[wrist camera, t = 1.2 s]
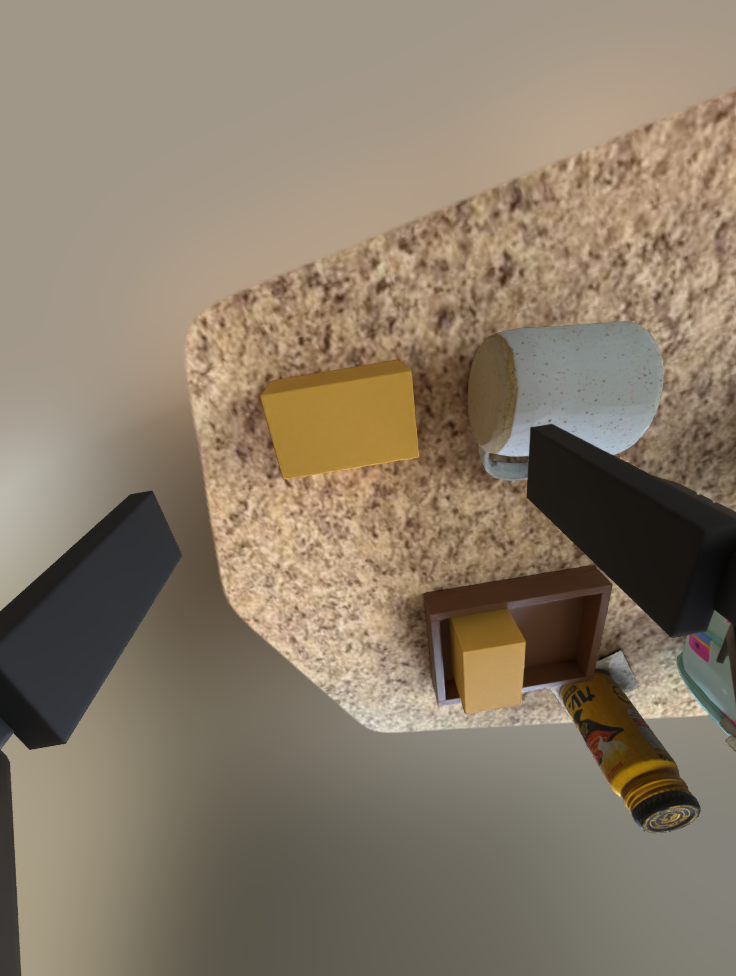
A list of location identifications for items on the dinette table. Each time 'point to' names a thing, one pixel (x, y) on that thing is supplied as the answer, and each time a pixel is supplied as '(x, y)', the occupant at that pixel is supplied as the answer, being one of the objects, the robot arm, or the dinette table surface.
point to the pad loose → (342, 419)
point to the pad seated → (487, 660)
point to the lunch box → (710, 675)
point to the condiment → (628, 748)
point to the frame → (528, 625)
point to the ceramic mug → (563, 388)
